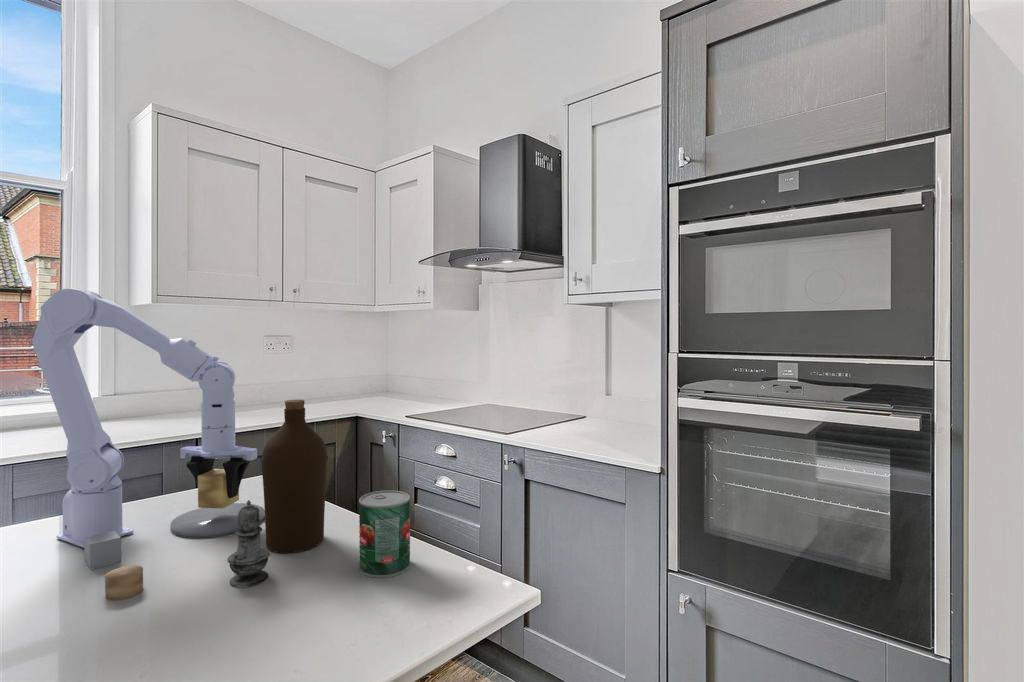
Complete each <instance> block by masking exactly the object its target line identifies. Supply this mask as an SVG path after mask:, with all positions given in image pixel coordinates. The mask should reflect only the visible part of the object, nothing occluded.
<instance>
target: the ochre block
mask: <svg viewBox="0 0 1024 682" xmlns="http://www.w3.org/2000/svg"><path fill="white" fill-rule="evenodd" d="M239 500H240V490H239V491H238V495H237V496H235V497H233V498H228V494H227V479H226V474H225V470H224V468H213V470H211V471H209V472H206V473H204V474H202V475H199V476H198V486H197V503H198V504H197V509H199V508H221V509H223V508H225V507H227V506H229V505H231V504H233V503H237V502H238V501H239Z"/></svg>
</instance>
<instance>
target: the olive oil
mask: <svg viewBox="0 0 1024 682" xmlns="http://www.w3.org/2000/svg"><path fill="white" fill-rule="evenodd" d="M284 405H285V407H284V411H283V412H284V422H283V424H282V425H281V426H280V427H279V428H278V430H276V432H274V434H273V435H272V436H271V437H270V438H269V439H268V440H267V442H266V443H265V445H264V448H263V451H262V453H261V472H262V474H261V475H262V486H263V489H262V490H263V502H264V503H263V505H264V507H263V508H264V510H265V518H264V521H265V522H264V524H265V527H264V528H265V545H266V549H268V550H269V551H270V552H273V553H277V554H291V553H292V554H293V553H299V552H303V551H308V550H310V549H314V548H315V547H317V546H319V545H320V544H322V542H323V541H324V537H325V536H324V534H325V510H326V509H325V506H326V490H327V489H326V483H327V468H328V451H327V447H326V443H325V441H324V439H323V438H322V436H320V434H318V433H317V432H316V431H315V430H314V429H313V428H312V427H311V426H310V425H309V424H308V423H307V421H306V407H305V400H304V399H287V400H285V401H284Z"/></svg>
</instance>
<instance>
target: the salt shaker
mask: <svg viewBox="0 0 1024 682" xmlns="http://www.w3.org/2000/svg"><path fill="white" fill-rule="evenodd" d="M246 503H247V505H246V506H245V507H243V508H241V509H240V510H239V513H238V530H237V531H236V533H235V535H237V548H236V551H235V552H233V553H231V554H230V555H229V556H228V557H227V558H226V561H227V563H228V564H229V567H230V570H231V572H232V573H233V574H235V575H234V576H232V577H231V579H230V580H229V585H230V586H231V587H233V588H239V589H240V588H241V589H243V588H244V589H245V588H250V587H254V586H258V585H260V584H262V583H264V582H266V581H267V580H268V578H269V573H268V572H267V571H265V570H264V569H265V567H267V564H268V561H269V557H270V556H271V551H270V550H269V549H268V548H267V547H266V548H264V547H262V545H261V532H262V531H263V527H261V526H260V523H259V509H258V508H257V507H256V506H252V505H250V504H252V501H250V500H249V499H248V500H247V502H246Z"/></svg>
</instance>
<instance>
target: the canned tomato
mask: <svg viewBox="0 0 1024 682" xmlns="http://www.w3.org/2000/svg"><path fill="white" fill-rule="evenodd" d="M410 500H411V496H410V494H408V493H407V492H405V491H400V490H392V489H391V490H380V491H379V490H378V491H372V492H368V493H365V494H364V495H361V496H360V497H359V499H358V503H359V505H358V506H359V509H358V510H359V511H358V515H359V516H358V517H359V521H358V523H359V526H358V527H359V530H358V531H359V535H358V537H359V550H358V551H359V568H358V569H359V572H360V574H362V575H364V576H366V577H369V578H378V579H379V578H380V579H382V578H392V577H395V576H399V575H401V574H403V573H405V572H406V571H407V570H408V569H409V568H410V566H411V559H410V558H411V546H410V545H411V526H410V525H411V505H410V504H411V502H410Z"/></svg>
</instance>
